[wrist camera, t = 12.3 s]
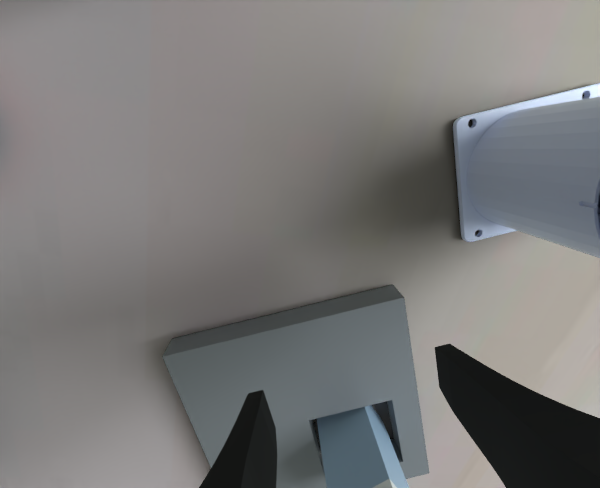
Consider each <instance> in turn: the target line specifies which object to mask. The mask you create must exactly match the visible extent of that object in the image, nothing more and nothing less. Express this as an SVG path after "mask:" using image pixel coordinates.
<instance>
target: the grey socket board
mask: <svg viewBox="0 0 600 488" xmlns="http://www.w3.org/2000/svg"><path fill="white" fill-rule="evenodd" d="M162 357H163V360H164V362H165V364H166V366H167V369H168V371H169V373H170V376H171V378H172V380H173V382H174V385H175V387H176V389H177V392H178V394H179V396H180V398H181V401H182V403H183V405H184V408H185V410H186V412H187V414H188V417H189V419H190V421H191V423H192V426H193V428H194V430H195V433H196V435H197V437H198V439H199V442H200V444H201V446H202V449H203V451H204V453H205V455H206V458H207V460H208V462H209V465H210V467H211V468H212V466H213V464H214V462H215V461H216V459H217V457H218V455H219V453H220V452H221V450H222V448H223V446H224V444H225V442H226V440H227V438H228V436H229V434H230V432H231V430H232V428H233V426H234V424H235V422H236V419H237V417H238V415H239V413H240V411H241V408H242V406H243V404H244V401H245V399H246V397H247V395H248V393H252V392H256V391H260V390H263V391H264V394H265V397H266V400H267V403H268V406H269V409H270V412H271V415H272V418H273V421H274V424H275V427H276V439H277V480H276V488H327V486H326V479H325V473H324V466H323V459H322V454H321V450H320V447H319V443H318V440H317V436H316V433H315V429H314V426H313V422H312V420H313V419H317V418H321V417H325V416H329V415H333V414H337V413H341V412H345V411H349V410H353V409H357V408H361V407H365V406H369V405H374V404H378V403H382V402H386V401H387V404H388V410H389V415H390V420H391V426H392V431H393V437H394V439H391V443H392V445H393V448H394V450H395V453H396V455H397V458H398V461H399V463H400V466H401V468H402V471H403V473H404V476H405V478H406V479H407V478H411V477H415V476H420V475H424V474H428V473H429V467H428V460H427V453H426V446H425V439H424V433H423V426H422V419H421V412H420V405H419V398H418V391H417V384H416V377H415V370H414V363H413V356H412V349H411V342H410V335H409V328H408V321H407V314H406V307H405V300H404V297H403V296H402V294H401V293H400V292H399V291H398V290H397V289H396V288H395V286H394V285H389V286H385V287H381V288H377V289H373V290H369V291H365V292H361V293H357V294H352V295H348V296H344V297H340V298H336V299H332V300H328V301H324V302H320V303H316V304H312V305H308V306H304V307H300V308H295V309H291V310H287V311H283V312H279V313H275V314H271V315H267V316H263V317H259V318H255V319H251V320H247V321H243V322H238V323H234V324H230V325H226V326H222V327H218V328H214V329H210V330H206V331H202V332H198V333H194V334H190V335H186V336H181V337H177V338H173V339H172V340H171V342H170V344H169V346H168V347H167V349H166V351H165V353H164V355H163V356H162Z"/></svg>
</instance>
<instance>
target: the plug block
mask: <svg viewBox="0 0 600 488" xmlns="http://www.w3.org/2000/svg"><path fill="white" fill-rule="evenodd" d="M317 426H318V433H319V439H320V446H321V453H322V459H323V466H324V473H325V479H326V486H327V488H409V486H408V483H407V481H406V478H405V476H404V473H403V471H402V468H401V466H400V463H399V461H398V458H397V455H396V453H395V450H394V448H393V445H392V443H391V440H390V438H389V435H388V433H387V430H386V428H385V425H384V422H383V420H382V419H381V417H380V416H379V415H378V413H377V412H376V411H375V409H374V408H373V407H372V405H369V406H365V407H361V408H357V409H353V410H349V411H345V412H341V413H337V414H333V415H329V416H325V417H321V418H317Z"/></svg>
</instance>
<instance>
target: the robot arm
mask: <svg viewBox="0 0 600 488" xmlns="http://www.w3.org/2000/svg"><path fill="white" fill-rule="evenodd" d="M583 93H584V98H583V99H582V94H583ZM470 119H471V120H472V122H473V124H472V126H471V127H469V126H468V122H469V120H470ZM453 135H454V148H455V161H456V174H457V188H458V201H459V214H460V227H461V237H462V239H463V240H465V241H467V242H473V241H477V240H481V239H485V238H489V237H493V236H497V235H501V234H506V233H510V232H514V231H520V232H523V233H526V234H529V235H532V236H535V237H538V238H541V239H544V240H547V241H550V242H553V243H556V244H559V245H562V246H565V247H568V248H571V249H574V250H577V251H580V252H583V253H586V254H589V255H592V256H595V257H598V258H600V83H597V84H593V85H589V86H585V87H581V88H577V89H573V90H569V91H564V92H560V93H556V94H552V95H548V96H544V97H540V98H536V99H532V100H528V101H524V102H519V103H515V104H511V105H507V106H503V107H499V108H495V109H491V110H487V111H483V112H478V113H474V114H470V115H466V116H462V117H459V118H457V119H456V120H455V122H454V124H453ZM477 230H479V233H478V234H477V235H475V232H476V231H477ZM435 353H436V362H437V370H438V379H439V387H440V389H441V391H442V393H443V395H444V396H445V398H446V400H447V402H448V404H449V405H450V407H451V409H452V411H453V412H454V414H455V415H456V416H457V418H458V419H459V421H460V422H461V424H462V425H463V426H464V428H465V429H466V431H467V432H468V433H469V435H470V436H471V438H472V439H473V440H474V442H475V443H476V445H477V446H478V447H479V449H480V450H481V451H482V453H483V454H484V456H485V457H486V458H487V460H488V461H489V463H490V464H491V465H492V467H493V468H494V470H495V471H496V473H497V474H498V476H499V477H500V479H501V480H502V482H503V483H504V485H505V487H506V488H600V418H597V417H594V416H592V415H589V414H586V413H584V412H581V411H578V410H576V409H573V408H571V407H568V406H566V405H563V404H561V403H559V402H557V401H554V400H552V399H550V398H547V397H545V396H543V395H541V394H539V393H536V392H534V391H532V390H530V389H528V388H526V387H524V386H522V385H520V384H518V383H516V382H514V381H512V380H511V379H509V378H507V377H505V376H503V375H501V374H500V373H498V372H496V371H494V370H492V369H491V368H489V367H487V366H485V365H484V364H482V363H480V362H479V361H477V360H475V359H474V358H472V357H470V356H469V355H467V354H465V353H464V352H462V351H461V350H459V349H457V348H456V347H454V346H452V345H451V344H446V345H442V346H438V347H435ZM276 480H277V439H276V427H275V424H274V421H273V418H272V415H271V412H270V409H269V406H268V403H267V400H266V397H265V394H264V391H263V390H260V391H256V392H252V393H248V395H247V397H246V399H245V401H244V404H243V406H242V408H241V411H240V413H239V415H238V417H237V419H236V422H235V424H234V426H233V428H232V430H231V432H230V434H229V436H228V438H227V440H226V442H225V444H224V446H223V448H222V450H221V452H220V453H219V455H218V457H217V459H216V461H215V462H214V464H213V466H212V468H211V469H210V471H209V473H208V474H207V476H206V478H205V479H204V481H203V483H202V484H201V486H200V487H199V488H276Z"/></svg>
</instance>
